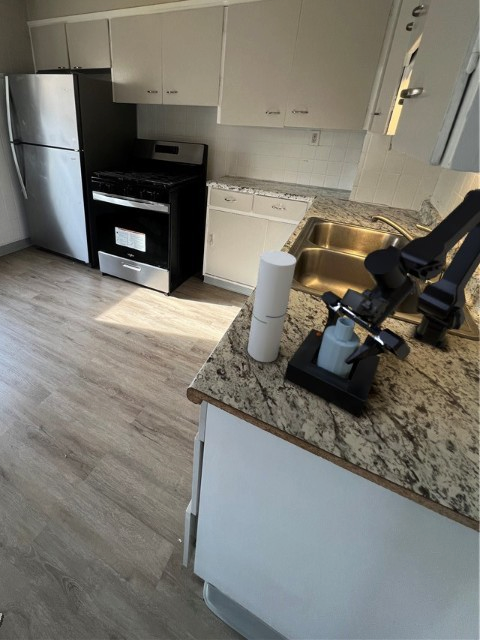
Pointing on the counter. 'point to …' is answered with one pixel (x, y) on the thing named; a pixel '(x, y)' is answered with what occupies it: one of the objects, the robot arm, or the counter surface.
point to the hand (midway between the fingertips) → (333, 352)
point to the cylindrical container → (270, 304)
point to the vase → (338, 347)
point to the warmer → (331, 376)
